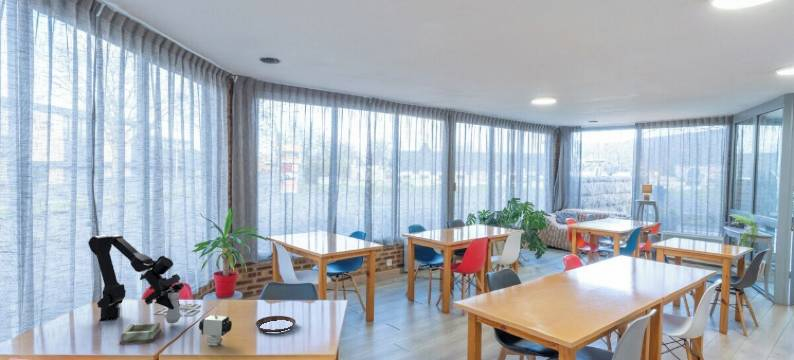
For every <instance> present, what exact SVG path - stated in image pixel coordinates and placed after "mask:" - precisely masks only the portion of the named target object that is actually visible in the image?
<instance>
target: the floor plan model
mask: <svg viewBox="0 0 794 360" xmlns="http://www.w3.org/2000/svg"><path fill="white" fill-rule="evenodd" d="M179 304H180V306H179V311H181V312H180V317H182V316H183V317H189V318H190V317H192V316H195V315H196V314H198V313H199V312H201V309H199V308H201V307H202V304H201V303H188V302H187V303H179ZM167 310H168V308H167V307H165V306H163V308H161V309H159V310H157V311H155V312H153V315H160V316H161V315H162V316H163V318H166V314H167ZM165 312H166V313H165ZM182 312H183V313H182Z"/></svg>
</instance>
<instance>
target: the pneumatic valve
mask: <svg viewBox="0 0 794 360" xmlns="http://www.w3.org/2000/svg"><path fill="white" fill-rule="evenodd" d="M232 327H233V323H232V321H231V320H230V316H222V315H217V314H214V315H206V317H203V318H201V319H200V322H199V324H198V329H199V330H198V331H200V332H201V335H204V336H205V335H207V336H208V337H207V341H206V342H207V345H208V346H211V347H218V346H219V345H221V344H222V343H223V338H222V337H223V336H225V335H226V334H228V333H230V331H231V330H232Z"/></svg>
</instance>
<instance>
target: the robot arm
mask: <svg viewBox="0 0 794 360" xmlns="http://www.w3.org/2000/svg"><path fill="white" fill-rule="evenodd" d="M87 244H88V246H89V249H90V251H91V252H92V253H93V254H94V255H95V256H96V258H97V262H98V265H99V269H100V273H101V276H102V280H103V284H104V287H103V289H102V298H101V299H99V301H98V302H96V303H97V304H96V306H97V308H100V318H99V319H98V321H99V322H103V321H104V322H105V321H116V320H117V319H118V318H119V317H120V316H121V315H120V314H121V307H120V305H121V304H122V303H123V300H124V299H125V297H126V293H127V290H126V288H125V285H124V283H121V284H120V282H118V279H117V274H116V272H115V269H114V265H113V264H114V263H113V260H112V258H111V257H112V256H111V254H110V253H111V249H112V246H113V247H114V248H115V249H117V250H118V251H119V253H121V254H122V255H123V256H124V257H125V258H127V259H128V260H129V262H130V266H131V267H132V268H133V270H134V271H135V272H137V273H141V274H140V277H139V281H142V280H145V281H146V282H147V283H148V285H149V286H150V287H149V290H153V291H152V292H150V294H148V295H147V296H145V298H144V302H145V304H146V305H147V306H148V305H151V304H153V301H154V300H155V301H154V304H157V305H159V306H162V307H167V308H169V309H172V310H173V309H174V307H173V305H172V303H171V302H170V299H169V294H171V293H180V291H181V290H182V289H183V288H185V284H184V283H182V282H180V280H181V277H180V275H179V274H177V273H175V274H172V276H171V277H169V278H167V277H163V276H162V275H164V274H166V273H167V272H168V271H169V270H170V269H171V268H172V267H173V266H174V262H173V260H172V259H171V258H169V257H166V256H165V255H160V256H159V257H158V258H157V259H156V260H154V259H153V258H152V257H150V256H148V255H147V254H144V253H141V252H140V251H138V250H137V249H136V248H135V247H134V246H133V245H131V243H129V242H128V241H127V240H126V239H125V238H124V237H123V236H122V235H121V234H117V235H111V236H109V235H107V234H103V235H96V236H92V237H91V238H89V240H88V243H87ZM142 272H143V273H142ZM178 304H179V306H180V304H181V303H180V301H179V299H178Z"/></svg>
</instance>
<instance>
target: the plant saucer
mask: <svg viewBox="0 0 794 360" xmlns="http://www.w3.org/2000/svg"><path fill="white" fill-rule="evenodd" d="M277 320H286V321H290V322H292V323H293V324H294V325H292V326H290V327H288V328H284V329H275V330H271V329H263V328H260V326H261V325H262V324H264V323H267V322H270V321H277ZM296 323H297V322H296V319H294V318H293V317H291V316H287V315H286V316H285V315H271V316H265V317H262V318H259V319H258V320H257V321H256V322H255V325H256V328H257V329H258V331H260V332H261V331H263V332H281V331H285V330H288V329H290V330H291V329H292V328H294V326H295V325H296ZM263 332H262V333H263Z"/></svg>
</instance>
